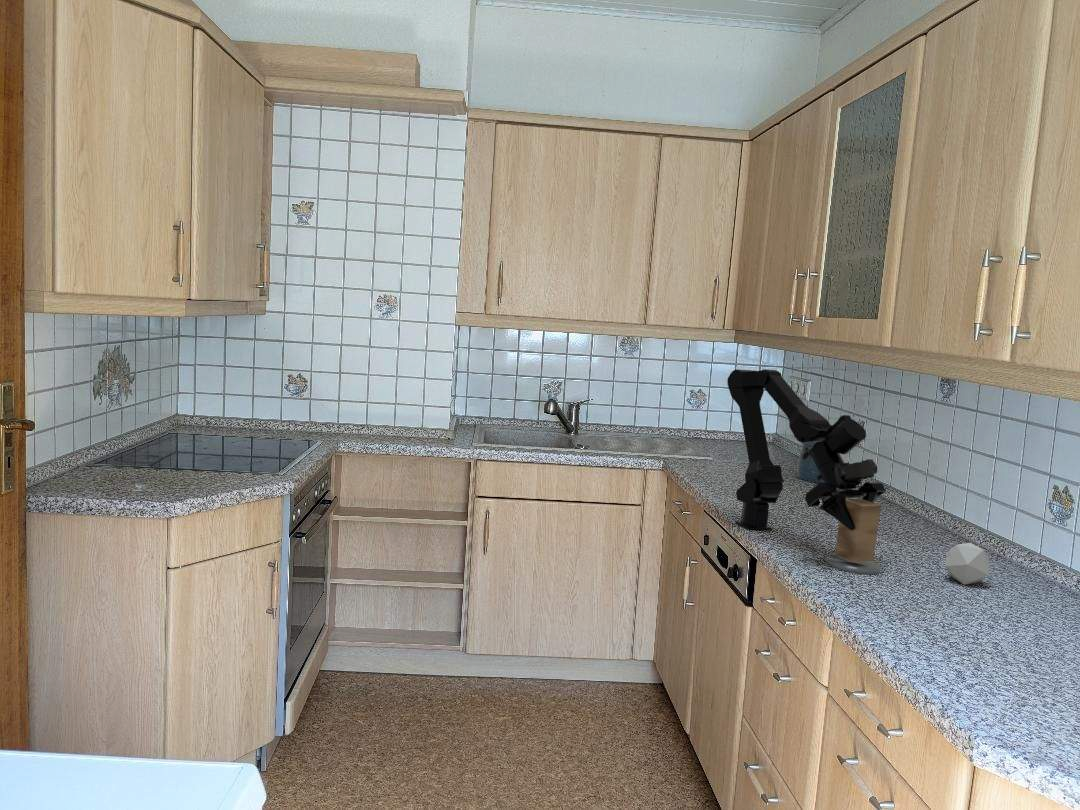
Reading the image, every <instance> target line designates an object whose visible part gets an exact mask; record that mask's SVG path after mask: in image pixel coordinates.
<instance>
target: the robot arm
mask: <svg viewBox="0 0 1080 810" xmlns="http://www.w3.org/2000/svg"><path fill="white" fill-rule="evenodd" d="M726 383H727V387H728V390H729V393H730V396H731V398H732V400H733V401H734V402H735V403H736V404H737V406H738V408H739V412H740V419H741V423H742V429H743V436H744V440H745V446H746V451H747V457H748V458H747V459H748V466H747V468H746V471H745V474H744V479H745V480H744V483H743V485H741V486H740V487H739V488H738V489H737V490H736V492H735V494H736V500H737V501H739V502H742V509H741V510H742V511H741V519H740V520H735V524H737V525H739V526H742V527H744V528H746V529H747V530H773V529H772V528H773V527H771V526H769V525H768V521H769V514H770V513H769V512H770V511H769V510H770V509H769V508H770V504H776V503H777V501H778V498H779V496H780V495H781V492H782V491H783V489H784V488H783V487H784V485H783V484H784V482H785V481H784V477H783V475H782V468H781V465H779V464H776V465H774V463H773V462H772V461H771V458H770V451H769V446H768V441H767V437H766V435H767V434H766V431H765V425H764V420H763V414H762V409H761V400H762V398H763V396H764V392H765V391H766V393H767V394H768V395H769V396H770V397H771V398H772V400H773V401H774V402H775V403H776V405H777V406H778V408H780V410H781V411H782V412H783V413H784V415H786V417H787V419H788V423H789V429H790V430H791V433H792V434H793V436H794V438H795V439H796V440H797V441H798V442H799V443H801V442H807V443H815V444H814V445H813V446H812V447H806V448H805V453H804V454H803V459H813V461H814V463H815V465H816V467H817V469H818V471H819V473H820V475H819V476H817V478H818V480H819V481H824V483H817V484H816V485H814V486H813V487H812V488H811V489H809V491H807V492H806V493H805V498H804V500H805V502H806V505H807V507H808V508H817V507H819V510H821V511H823V512H826V513H827V514H828V515H830V516H831V517H833V518H834V519H836V520H837V521H838V523H839V522H841V523H842V524H843V525H845V526H846V527H847V528H848V529H850V530H854V529H855V525H854V522H853V520H852V518H851V515H850V513H849V511H848V509H847V506H846V504H845V500H846V499H863V500H867V501H870V502H873V503H874V501H876V500H877V499H878V498H880V497H881V496H882V495H884V494H885V493H886V492H887V490H886V487H884V484H883V483H882V482H879V481H866V482H864V483H863V482H862V480H864V479H867V478H870V479H871V478H874V477H875V475H876V474H877V472H878V465H877V464H876V463H875V461H874V460H873V459H871V458H870V459H866V460H862V461H857V462H854V463H853V462H852V463H850V462H845V461H844V459H843V457H842V456H841V455H847V454H849V453H850V452H851V451H853V449H854V448H856V447H857V446H858V445H859V444H860V443H862V442H863V441H864V440H865V439H866V437H867V432H866V429H865V428H864V426H863V425H861V424H860V423H859V422H858V421H856V420H855V419H852V417H851V416H850V414H847V415H846V414H843V415H841V416H840V417H839V418H838V419H837V420H836V422H834V423H833V424H830V422H829V420H828V419H826V417H824V416H823V415H822V414H821V413H819V412H818V411H815V410H814V409H811V408H809V407H808V406H807V405H806V404H805V403H804V401H803V400H802V399H801V398H800V397H799V395H798V394H797V393H796V392H795V391H794V389H793V388H792V387H791V386H790V385H789V384H788V382H787V381H786V380H785V379H784V378H783V374H782V373H781V372H780V371H778V370H776V369H765V368H764V369H762V370H761V369H760V370H753V369H752V370H751V369H737V368H736V369H734V370H732V371H731V372H730V374H729V375H728V377H727V381H726ZM839 453H840V454H839ZM861 483H863V484H862V485H861ZM859 485H861V486H860V487H857V486H859ZM820 499H821V501H820ZM821 503H822V504H821ZM820 504H821V505H820Z"/></svg>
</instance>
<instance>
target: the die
mask: <svg viewBox="0 0 1080 810" xmlns="http://www.w3.org/2000/svg"><path fill="white" fill-rule="evenodd" d="M990 563H991V561H990V559H989V557H988V555H987V553H986V552H985V550H984V549H983V548H981V547H979V546H977V545H975V544H974V543H971V542H966V543H960V544H954V546H953V547H952V548H951V549H950V550H948V551H947V552H946V555H945V562H944V567H945V569H946V571H947V572H948V574H949V575H950V577H951V578H952V579H954V580H956V581H958V582H959V583H960V584H962V585H964V586H965V585H969V584H970V585H971V584H976V583H979V582H980V581H982V580H983V579H985V578H986V577H988V576H989V574H990V565H991V564H990Z"/></svg>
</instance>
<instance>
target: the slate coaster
mask: <svg viewBox="0 0 1080 810" xmlns="http://www.w3.org/2000/svg"><path fill="white" fill-rule="evenodd" d="M825 563H826V564H827V565H828V566H830V567H831V566H832V568H833V569H836V568H837V569H836V570H839V569H840V571H842V570H843V571H842V572H846V571H847V572H848V573H851V572H853V573H852V574H857V573H858V575H867V574H871V575H877V573H878V574H880V573H881V572H882V571H881V569H882V567H881V565H880V564H879V563H877V562H875V561H874V560H873V561H862V562H853V561H851V560H848V559H846V558H843V557H841V556H838V555H836V554H830V555H828V556H826V559H825ZM847 572H846V573H847Z"/></svg>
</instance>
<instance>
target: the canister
mask: <svg viewBox="0 0 1080 810" xmlns="http://www.w3.org/2000/svg"><path fill="white" fill-rule="evenodd" d="M800 443H801V450H800V451H799V459H798V468H797V471H796V474H797V478H799V479H800V480H803V481H807V482H812V483H817V484H818V483H824V481H819V480H818V478H817V476H819V475H820V473H819V471H818V469H817V467H816V465H815V463H814V461H813V459H803V454H804V453H805V448H806V447H812V446H813V445H814V444H815V443H807V442H800ZM839 454H840V453H839ZM840 455H841V454H840Z"/></svg>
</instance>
